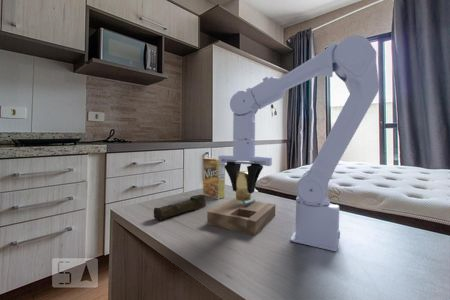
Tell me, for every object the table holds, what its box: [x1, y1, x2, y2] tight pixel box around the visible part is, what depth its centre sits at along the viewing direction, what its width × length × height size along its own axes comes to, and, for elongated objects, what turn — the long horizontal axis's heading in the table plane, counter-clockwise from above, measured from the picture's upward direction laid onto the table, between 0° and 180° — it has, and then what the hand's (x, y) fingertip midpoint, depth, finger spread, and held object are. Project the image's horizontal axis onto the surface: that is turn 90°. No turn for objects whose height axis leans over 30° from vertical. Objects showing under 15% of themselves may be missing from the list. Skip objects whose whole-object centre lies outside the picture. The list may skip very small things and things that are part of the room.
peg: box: [235, 170, 252, 201], centre depth 58 cm, size 4×4×7 cm
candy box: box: [202, 157, 226, 200], centre depth 88 cm, size 9×4×15 cm, turn 49°
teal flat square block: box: [234, 191, 256, 207], centre depth 67 cm, size 6×6×1 cm
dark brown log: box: [153, 194, 207, 222], centre depth 69 cm, size 19×4×5 cm, turn 135°
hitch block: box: [206, 197, 276, 236], centre depth 64 cm, size 14×16×4 cm
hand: (243, 191), depth 59 cm, fingers closed on peg, 4 cm apart
